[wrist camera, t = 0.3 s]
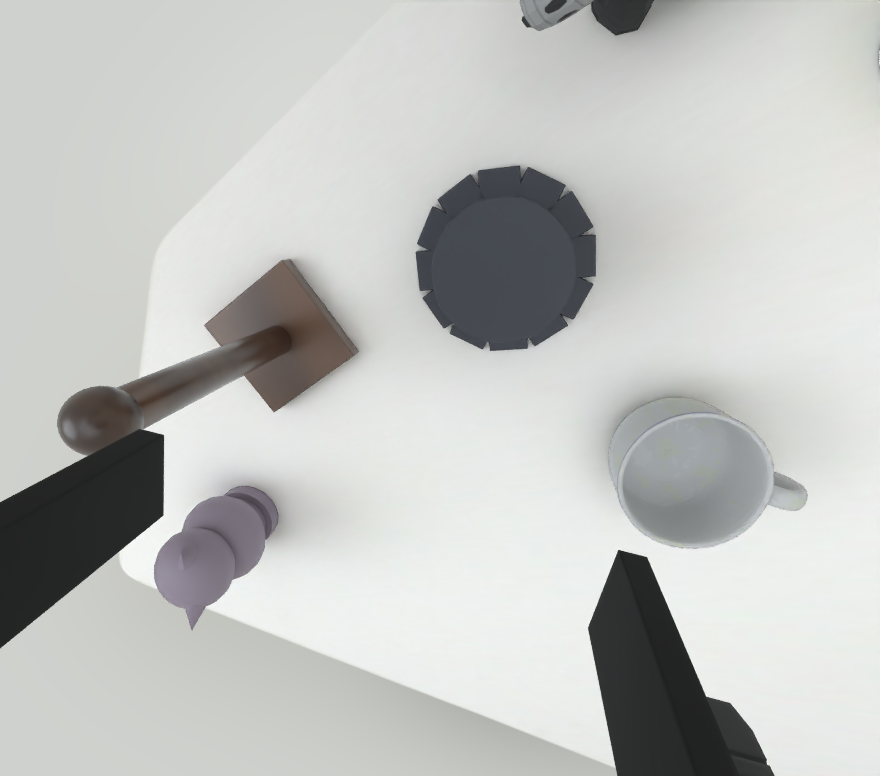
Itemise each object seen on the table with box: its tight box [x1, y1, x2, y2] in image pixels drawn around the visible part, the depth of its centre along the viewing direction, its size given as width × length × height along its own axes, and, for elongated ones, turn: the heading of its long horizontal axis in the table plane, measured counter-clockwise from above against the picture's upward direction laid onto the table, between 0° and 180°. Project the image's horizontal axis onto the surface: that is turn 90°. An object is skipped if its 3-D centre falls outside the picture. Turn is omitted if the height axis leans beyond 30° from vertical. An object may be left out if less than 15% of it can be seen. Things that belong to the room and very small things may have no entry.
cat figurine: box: [154, 486, 278, 629], centre depth 45 cm, size 8×8×12 cm
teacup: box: [608, 397, 808, 549], centre depth 38 cm, size 14×11×8 cm
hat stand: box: [57, 259, 358, 456], centre depth 33 cm, size 10×10×23 cm
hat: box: [416, 166, 596, 351], centre depth 35 cm, size 14×14×10 cm
